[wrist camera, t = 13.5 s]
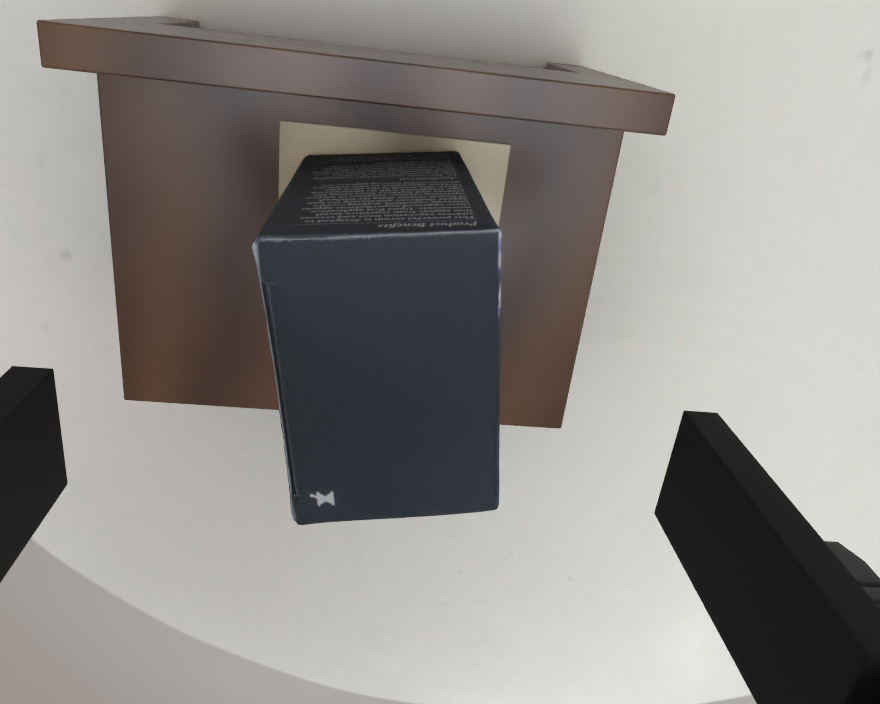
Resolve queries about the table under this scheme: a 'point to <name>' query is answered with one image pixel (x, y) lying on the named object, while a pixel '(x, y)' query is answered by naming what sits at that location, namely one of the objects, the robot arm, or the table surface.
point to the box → (384, 336)
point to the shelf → (328, 133)
